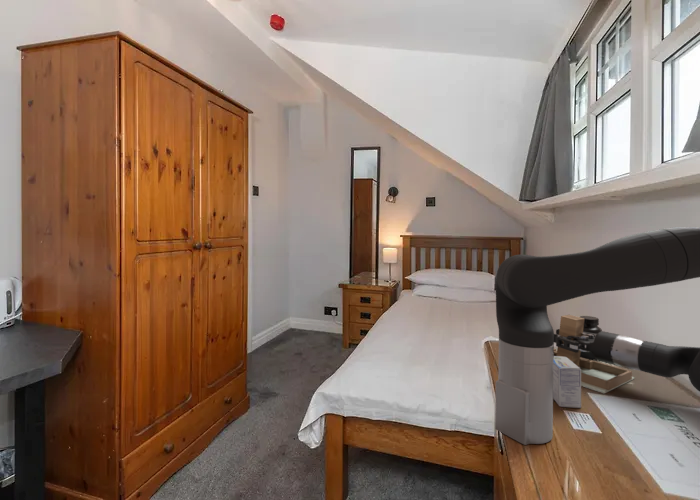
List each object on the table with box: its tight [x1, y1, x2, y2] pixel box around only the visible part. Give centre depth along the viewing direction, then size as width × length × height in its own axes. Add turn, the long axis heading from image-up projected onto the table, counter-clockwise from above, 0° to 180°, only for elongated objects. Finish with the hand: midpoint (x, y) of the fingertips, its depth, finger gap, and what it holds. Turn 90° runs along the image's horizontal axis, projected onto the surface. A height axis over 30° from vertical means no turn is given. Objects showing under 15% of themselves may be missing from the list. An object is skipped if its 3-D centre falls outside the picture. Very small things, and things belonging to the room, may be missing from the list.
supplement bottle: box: [579, 315, 603, 361], centre depth 105 cm, size 7×7×12 cm
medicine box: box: [553, 356, 582, 409], centre depth 78 cm, size 8×4×9 cm, turn 168°
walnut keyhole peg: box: [556, 314, 584, 368], centre depth 95 cm, size 6×6×14 cm
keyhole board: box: [554, 348, 636, 395], centre depth 93 cm, size 16×19×3 cm
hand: (551, 334), depth 99 cm, fingers open, 5 cm apart
